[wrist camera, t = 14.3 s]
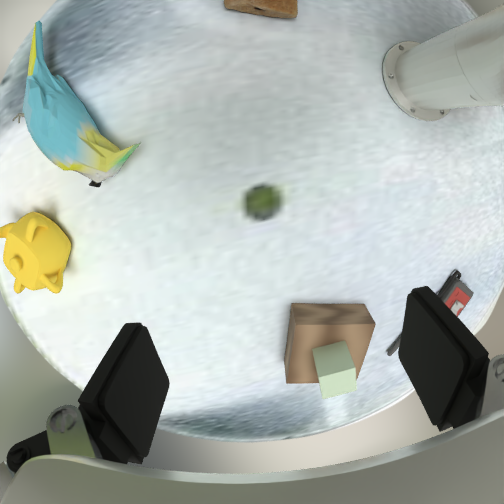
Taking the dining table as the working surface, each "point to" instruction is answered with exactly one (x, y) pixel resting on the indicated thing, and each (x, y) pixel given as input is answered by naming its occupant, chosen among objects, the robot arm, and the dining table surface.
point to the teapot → (35, 252)
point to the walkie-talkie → (450, 299)
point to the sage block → (335, 369)
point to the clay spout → (265, 7)
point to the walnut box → (324, 336)
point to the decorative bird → (65, 123)
